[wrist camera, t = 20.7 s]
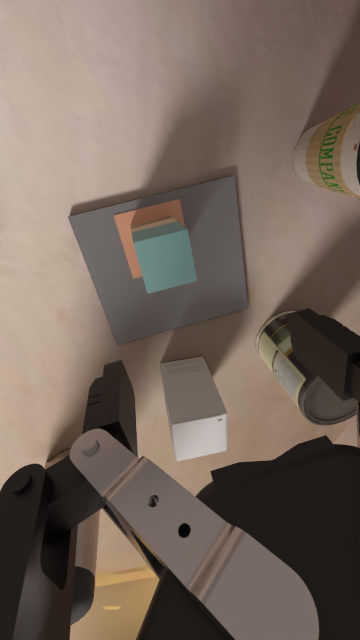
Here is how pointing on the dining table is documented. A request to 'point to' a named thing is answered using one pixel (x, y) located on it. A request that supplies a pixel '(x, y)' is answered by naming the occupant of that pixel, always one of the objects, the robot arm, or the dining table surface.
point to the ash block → (152, 223)
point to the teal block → (164, 256)
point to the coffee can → (300, 375)
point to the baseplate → (207, 249)
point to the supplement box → (193, 409)
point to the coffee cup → (332, 153)
